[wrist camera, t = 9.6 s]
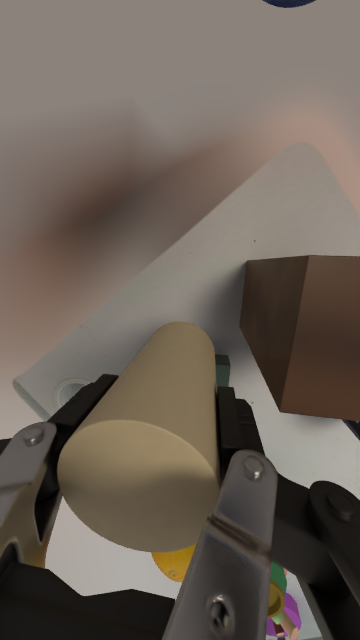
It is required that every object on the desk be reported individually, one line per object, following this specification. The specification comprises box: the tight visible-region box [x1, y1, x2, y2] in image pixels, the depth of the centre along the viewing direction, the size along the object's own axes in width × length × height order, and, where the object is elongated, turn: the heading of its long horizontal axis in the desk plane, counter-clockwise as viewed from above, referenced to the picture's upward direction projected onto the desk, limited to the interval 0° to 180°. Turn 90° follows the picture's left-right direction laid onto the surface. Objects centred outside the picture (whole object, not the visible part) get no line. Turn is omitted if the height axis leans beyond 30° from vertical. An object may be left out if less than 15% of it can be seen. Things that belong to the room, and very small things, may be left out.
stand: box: [240, 255, 360, 421], centre depth 17 cm, size 8×8×16 cm
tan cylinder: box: [57, 322, 222, 552], centre depth 11 cm, size 5×5×10 cm
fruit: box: [151, 543, 197, 582], centre depth 32 cm, size 9×8×8 cm
